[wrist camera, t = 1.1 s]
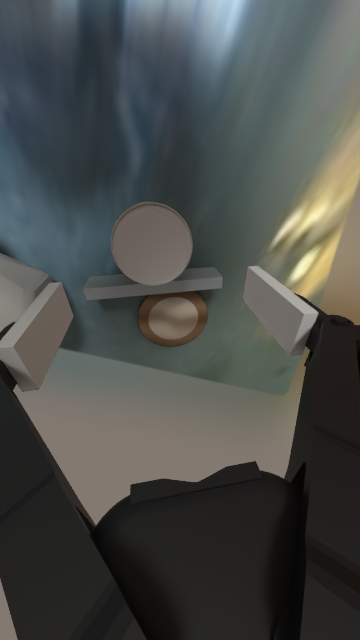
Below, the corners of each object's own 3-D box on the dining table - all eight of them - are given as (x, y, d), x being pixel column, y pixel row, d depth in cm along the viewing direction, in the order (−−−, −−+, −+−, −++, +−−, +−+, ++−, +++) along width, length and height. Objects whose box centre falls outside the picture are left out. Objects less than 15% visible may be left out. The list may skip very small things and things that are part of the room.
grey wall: (89, 276, 37) (82, 289, 33) (214, 266, 39) (222, 276, 35) (92, 287, 38) (86, 300, 34) (213, 276, 40) (221, 288, 36)
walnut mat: (133, 288, 39) (133, 291, 38) (208, 282, 41) (209, 284, 40) (142, 347, 47) (142, 350, 46) (205, 340, 48) (206, 342, 48)
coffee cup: (158, 268, 38) (164, 300, 28) (108, 237, 34) (94, 261, 24) (190, 220, 34) (210, 238, 24) (138, 179, 30) (137, 180, 20)
